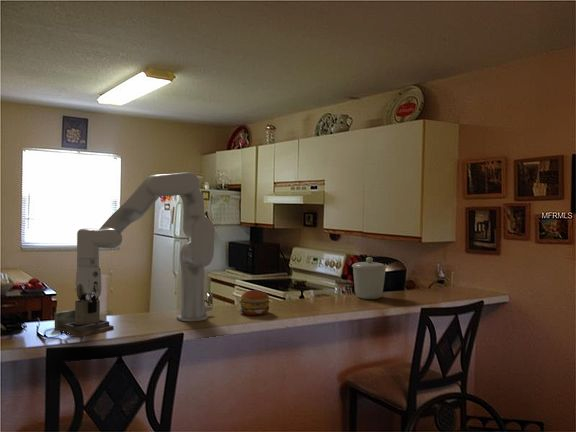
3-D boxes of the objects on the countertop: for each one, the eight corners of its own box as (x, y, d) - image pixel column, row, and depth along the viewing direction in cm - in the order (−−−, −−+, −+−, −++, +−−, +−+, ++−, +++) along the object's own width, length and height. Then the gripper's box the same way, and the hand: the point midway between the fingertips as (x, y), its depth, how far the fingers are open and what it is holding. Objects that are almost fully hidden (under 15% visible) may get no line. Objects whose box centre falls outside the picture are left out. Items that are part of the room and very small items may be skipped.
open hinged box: (89, 322, 194) (89, 306, 194) (113, 329, 185) (113, 312, 185) (54, 329, 183) (54, 312, 183) (78, 337, 173) (78, 319, 173)
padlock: (74, 322, 182) (75, 282, 182) (98, 320, 186) (98, 280, 186) (75, 325, 179) (76, 283, 178) (99, 323, 183) (100, 282, 182)
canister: (347, 294, 265) (348, 255, 264) (380, 294, 267) (381, 255, 266) (355, 301, 247) (356, 259, 246) (390, 301, 249) (392, 259, 248)
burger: (274, 315, 212) (274, 292, 212) (244, 318, 207) (244, 294, 207) (263, 309, 225) (264, 287, 224) (234, 311, 219) (235, 288, 219)
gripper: (110, 263, 180) (110, 313, 180) (84, 259, 190) (84, 306, 191) (91, 265, 174) (91, 316, 174) (65, 261, 184) (65, 309, 185)
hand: (87, 311), depth 182 cm, fingers closed on padlock, 5 cm apart
